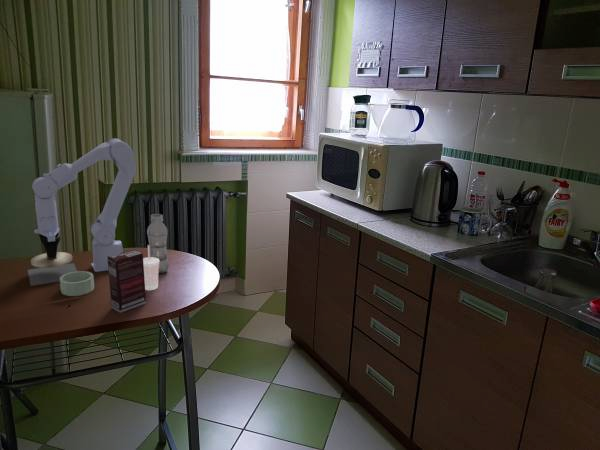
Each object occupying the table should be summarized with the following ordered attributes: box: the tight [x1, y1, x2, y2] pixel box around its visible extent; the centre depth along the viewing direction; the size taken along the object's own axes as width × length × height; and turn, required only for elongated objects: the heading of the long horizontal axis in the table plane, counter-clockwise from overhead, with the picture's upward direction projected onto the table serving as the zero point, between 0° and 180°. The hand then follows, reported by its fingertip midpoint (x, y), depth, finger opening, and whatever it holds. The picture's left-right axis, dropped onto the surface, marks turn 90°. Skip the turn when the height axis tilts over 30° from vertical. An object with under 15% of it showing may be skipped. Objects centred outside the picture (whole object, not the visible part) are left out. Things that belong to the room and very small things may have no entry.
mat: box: [27, 262, 78, 287], centre depth 153 cm, size 14×14×1 cm
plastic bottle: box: [146, 213, 170, 274], centre depth 157 cm, size 6×7×20 cm
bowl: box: [59, 270, 95, 298], centre depth 143 cm, size 9×9×4 cm
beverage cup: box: [143, 244, 160, 291], centre depth 146 cm, size 6×6×14 cm
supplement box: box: [107, 249, 147, 314], centre depth 133 cm, size 9×5×16 cm, turn 141°
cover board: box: [30, 251, 73, 268], centre depth 151 cm, size 12×12×4 cm
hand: (51, 256), depth 152 cm, fingers closed on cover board, 3 cm apart
